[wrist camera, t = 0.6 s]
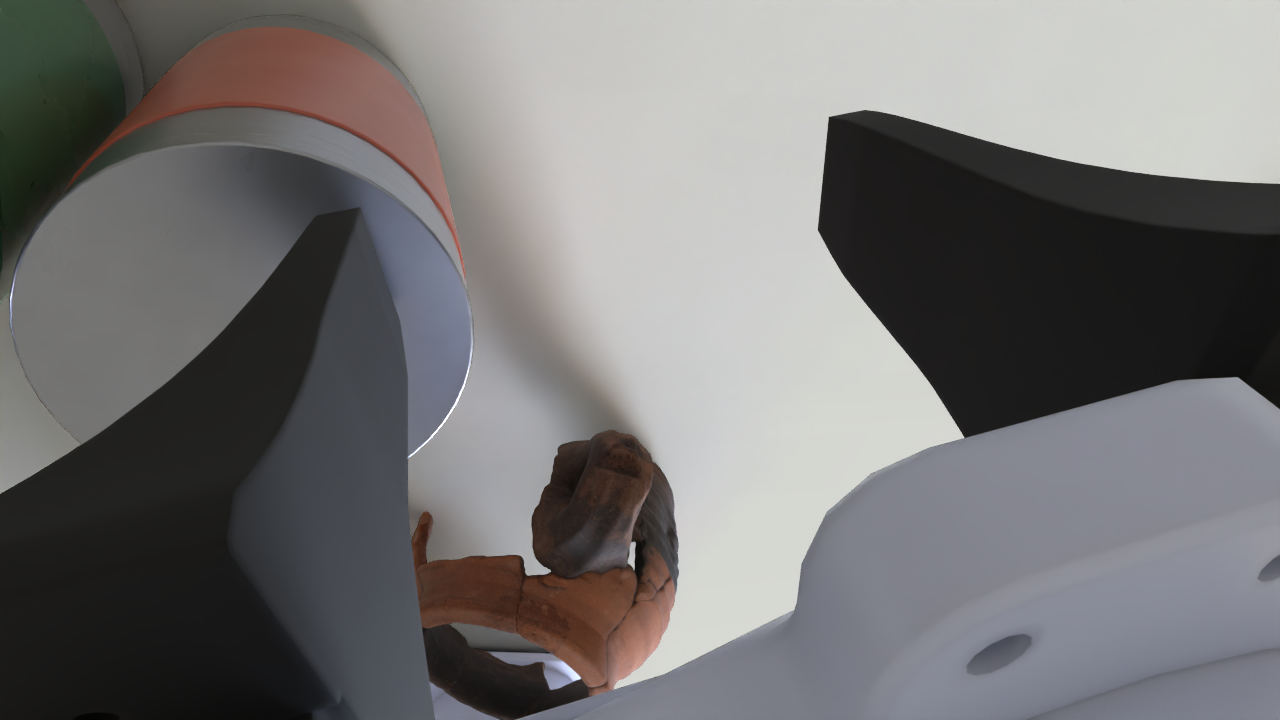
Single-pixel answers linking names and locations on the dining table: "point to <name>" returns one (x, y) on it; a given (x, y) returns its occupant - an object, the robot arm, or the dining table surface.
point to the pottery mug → (560, 584)
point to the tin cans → (205, 199)
